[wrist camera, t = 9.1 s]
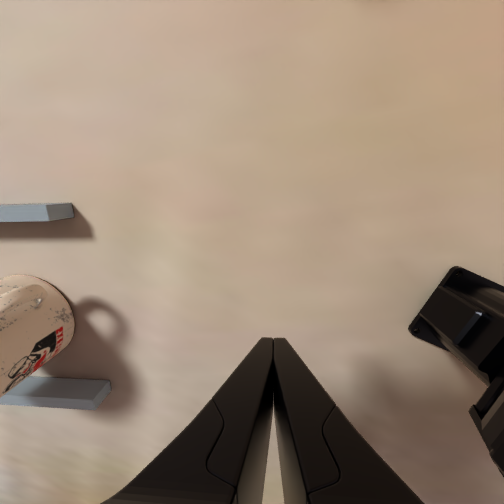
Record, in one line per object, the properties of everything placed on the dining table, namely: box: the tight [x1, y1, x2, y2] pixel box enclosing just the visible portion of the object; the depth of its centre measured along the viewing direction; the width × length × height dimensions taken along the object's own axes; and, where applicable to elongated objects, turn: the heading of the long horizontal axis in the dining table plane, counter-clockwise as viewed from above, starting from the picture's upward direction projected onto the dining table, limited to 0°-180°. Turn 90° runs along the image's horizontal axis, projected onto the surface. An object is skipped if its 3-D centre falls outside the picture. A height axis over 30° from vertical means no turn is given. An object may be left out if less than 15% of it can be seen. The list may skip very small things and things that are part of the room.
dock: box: [0, 203, 111, 410], centre depth 23 cm, size 15×19×2 cm
